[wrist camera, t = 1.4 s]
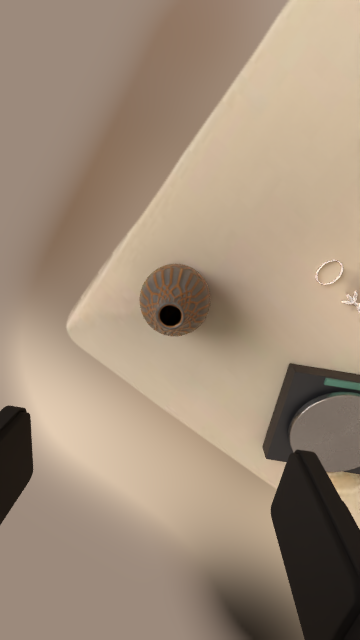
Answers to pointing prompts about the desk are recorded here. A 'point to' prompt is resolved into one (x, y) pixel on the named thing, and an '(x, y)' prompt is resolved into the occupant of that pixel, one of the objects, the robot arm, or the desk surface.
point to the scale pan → (329, 430)
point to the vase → (175, 300)
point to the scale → (302, 403)
